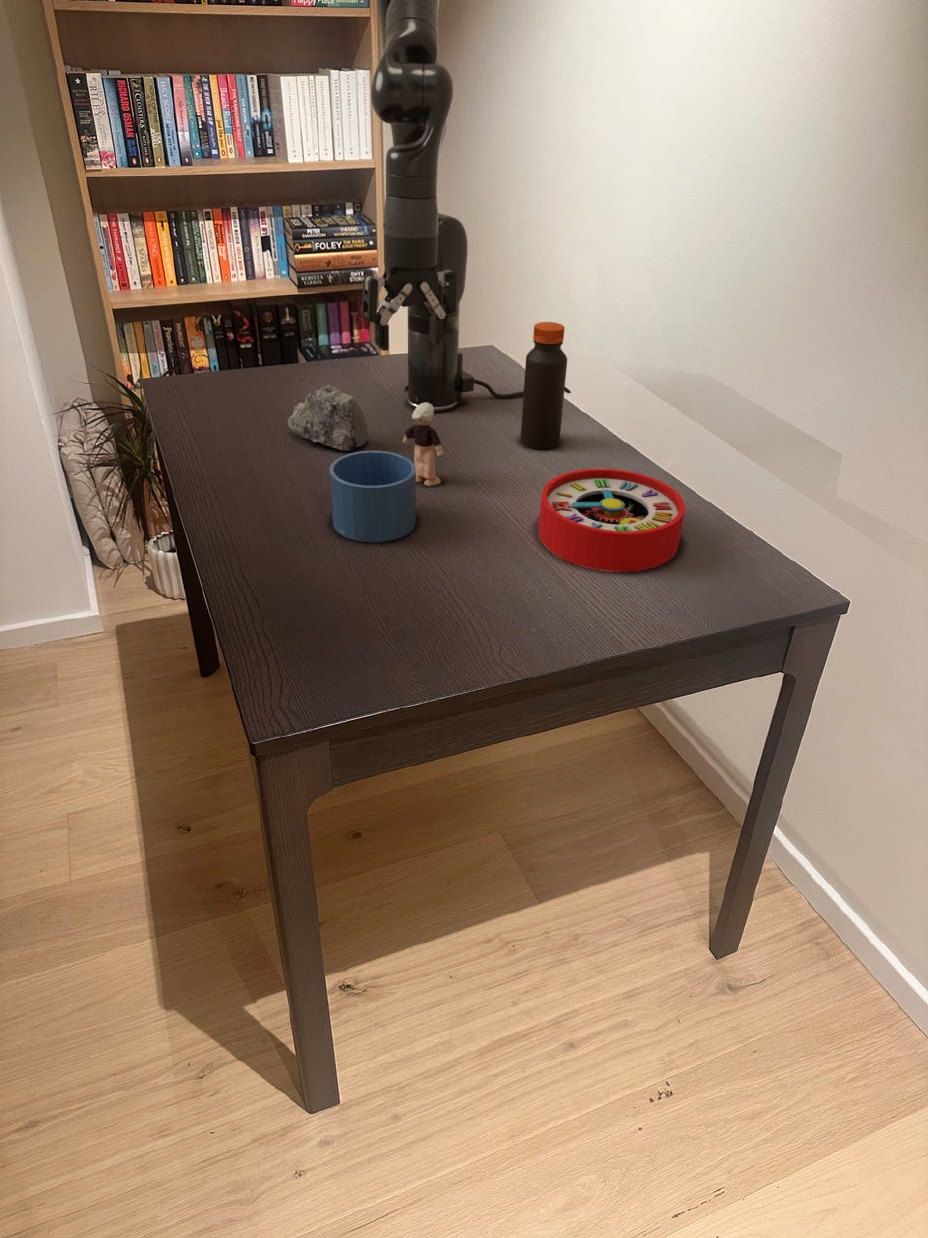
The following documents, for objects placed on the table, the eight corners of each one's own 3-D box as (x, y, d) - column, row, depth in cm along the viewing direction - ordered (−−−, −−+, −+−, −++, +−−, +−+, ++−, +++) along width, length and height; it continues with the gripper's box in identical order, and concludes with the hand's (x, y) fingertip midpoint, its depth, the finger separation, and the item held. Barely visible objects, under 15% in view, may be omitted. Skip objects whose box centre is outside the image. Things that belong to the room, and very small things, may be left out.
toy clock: (703, 533, 120) (553, 534, 118) (695, 571, 123) (549, 572, 122) (664, 468, 136) (532, 468, 135) (658, 503, 140) (529, 503, 138)
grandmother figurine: (450, 480, 144) (452, 403, 137) (440, 489, 141) (441, 411, 134) (407, 470, 147) (407, 394, 139) (396, 479, 144) (395, 402, 137)
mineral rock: (285, 432, 158) (280, 375, 152) (341, 421, 163) (338, 366, 157) (316, 460, 149) (312, 401, 143) (374, 447, 154) (373, 389, 148)
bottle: (514, 445, 156) (522, 328, 145) (527, 431, 161) (536, 317, 150) (552, 453, 154) (563, 334, 143) (564, 438, 159) (575, 323, 148)
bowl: (392, 496, 139) (391, 444, 134) (430, 530, 130) (431, 476, 126) (319, 513, 134) (316, 460, 129) (354, 550, 125) (351, 494, 120)
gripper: (375, 238, 121) (376, 359, 130) (468, 232, 127) (463, 348, 136) (352, 227, 126) (355, 344, 135) (442, 222, 132) (439, 334, 141)
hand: (409, 346), depth 135 cm, fingers open, 8 cm apart
